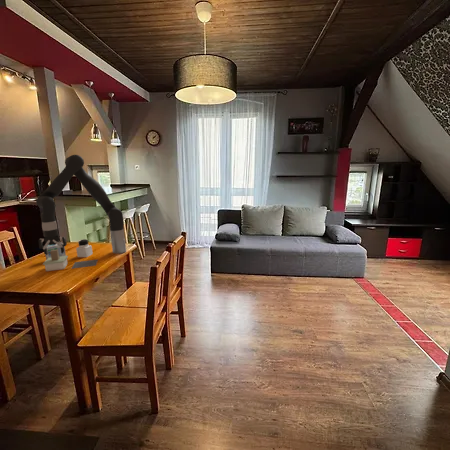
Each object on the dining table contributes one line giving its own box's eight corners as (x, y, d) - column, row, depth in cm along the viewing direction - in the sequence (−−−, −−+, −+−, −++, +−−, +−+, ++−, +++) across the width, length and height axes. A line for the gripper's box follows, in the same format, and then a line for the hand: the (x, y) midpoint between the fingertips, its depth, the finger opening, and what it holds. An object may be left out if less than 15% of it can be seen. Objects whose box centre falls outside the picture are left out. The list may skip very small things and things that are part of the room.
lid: (68, 256, 167) (66, 246, 165) (63, 262, 157) (61, 251, 155) (48, 258, 163) (46, 248, 162) (42, 264, 153) (40, 254, 152)
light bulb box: (49, 262, 171) (46, 247, 168) (46, 260, 175) (43, 245, 172) (66, 258, 179) (64, 243, 177) (62, 256, 183) (60, 242, 181)
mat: (98, 259, 174) (98, 259, 174) (95, 266, 163) (95, 265, 163) (75, 262, 169) (75, 262, 169) (71, 269, 158) (71, 268, 158)
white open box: (67, 264, 167) (66, 257, 166) (64, 269, 158) (62, 262, 157) (50, 266, 164) (49, 259, 163) (46, 271, 155) (44, 264, 154)
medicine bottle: (92, 254, 186) (90, 238, 183) (86, 257, 179) (84, 241, 176) (83, 254, 187) (81, 238, 184) (77, 257, 180) (74, 241, 177)
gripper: (64, 226, 161) (69, 250, 165) (38, 228, 157) (43, 253, 160) (61, 228, 154) (66, 254, 158) (34, 231, 150) (39, 257, 153)
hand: (54, 253), depth 159 cm, fingers open, 8 cm apart
